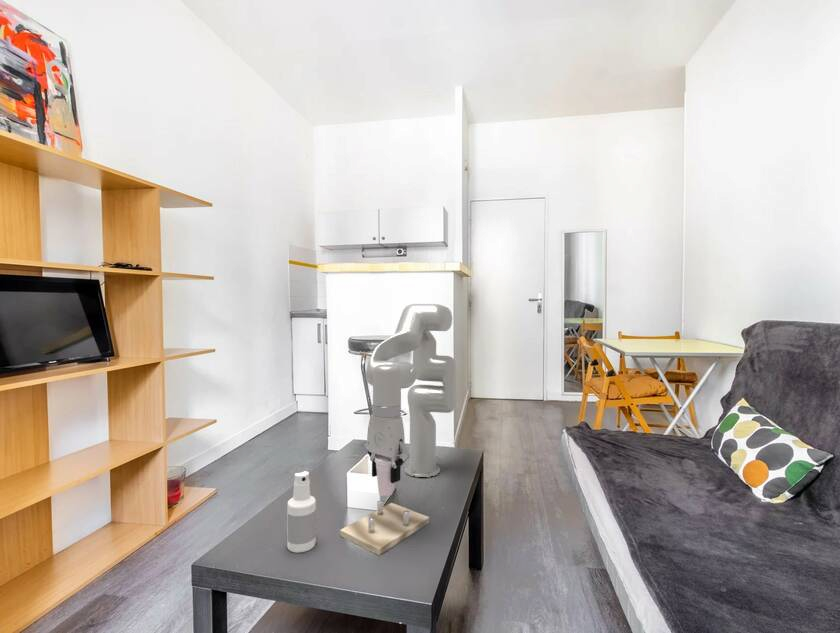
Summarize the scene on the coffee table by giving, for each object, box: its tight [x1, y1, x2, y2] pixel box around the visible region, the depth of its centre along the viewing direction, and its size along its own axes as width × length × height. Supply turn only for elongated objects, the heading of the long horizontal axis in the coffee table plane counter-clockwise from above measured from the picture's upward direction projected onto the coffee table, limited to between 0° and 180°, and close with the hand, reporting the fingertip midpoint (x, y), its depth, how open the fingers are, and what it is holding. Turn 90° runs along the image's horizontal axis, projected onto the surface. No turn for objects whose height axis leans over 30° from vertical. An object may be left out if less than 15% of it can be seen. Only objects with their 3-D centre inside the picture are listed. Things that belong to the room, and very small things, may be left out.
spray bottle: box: [286, 470, 317, 554], centre depth 104 cm, size 7×7×18 cm
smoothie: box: [374, 455, 397, 497], centre depth 112 cm, size 6×6×14 cm
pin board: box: [339, 500, 430, 556], centre depth 112 cm, size 20×14×5 cm
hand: (385, 477), depth 112 cm, fingers closed on smoothie, 6 cm apart
